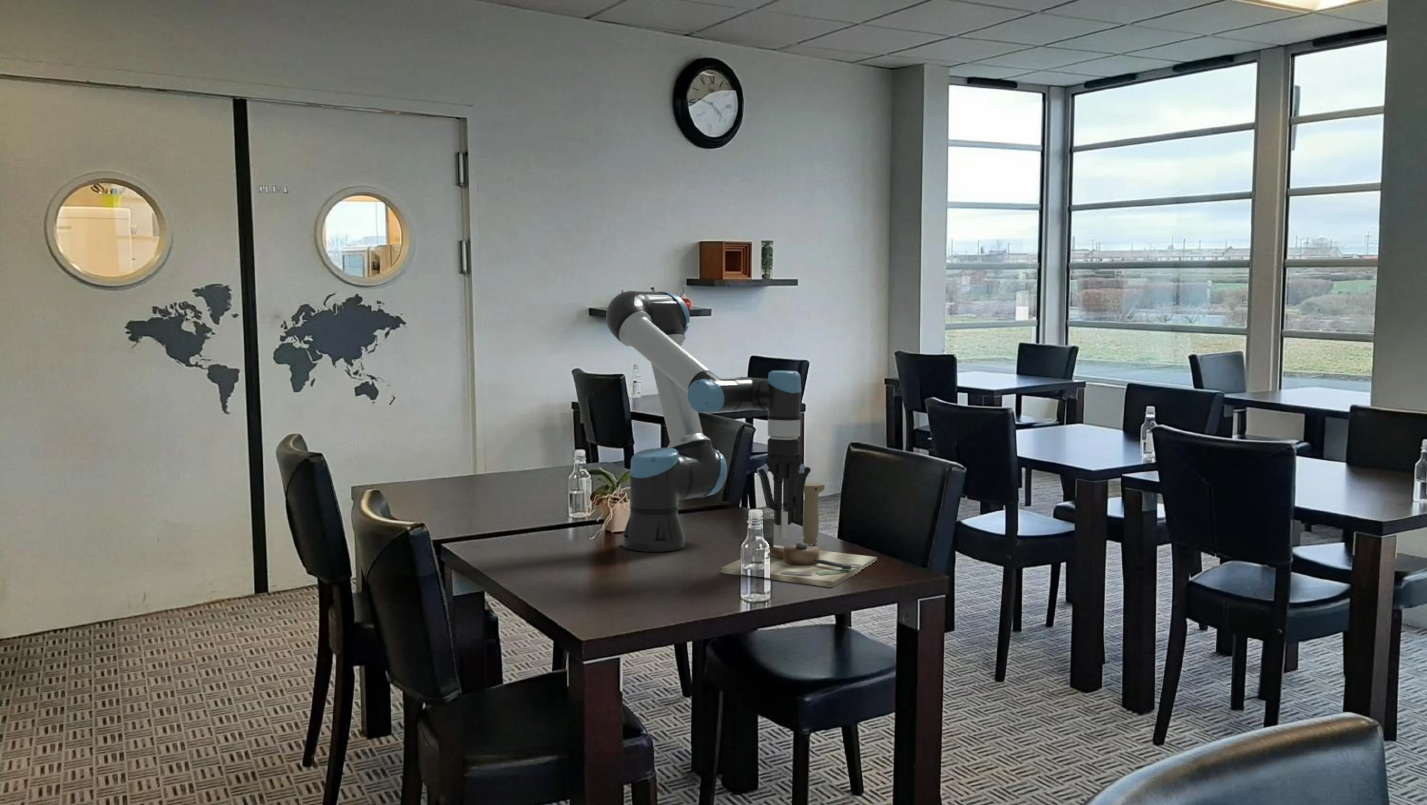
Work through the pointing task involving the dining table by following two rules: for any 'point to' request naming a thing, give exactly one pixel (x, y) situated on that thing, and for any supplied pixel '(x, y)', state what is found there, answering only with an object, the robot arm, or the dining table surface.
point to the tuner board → (811, 569)
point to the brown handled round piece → (795, 550)
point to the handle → (811, 512)
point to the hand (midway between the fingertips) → (782, 538)
